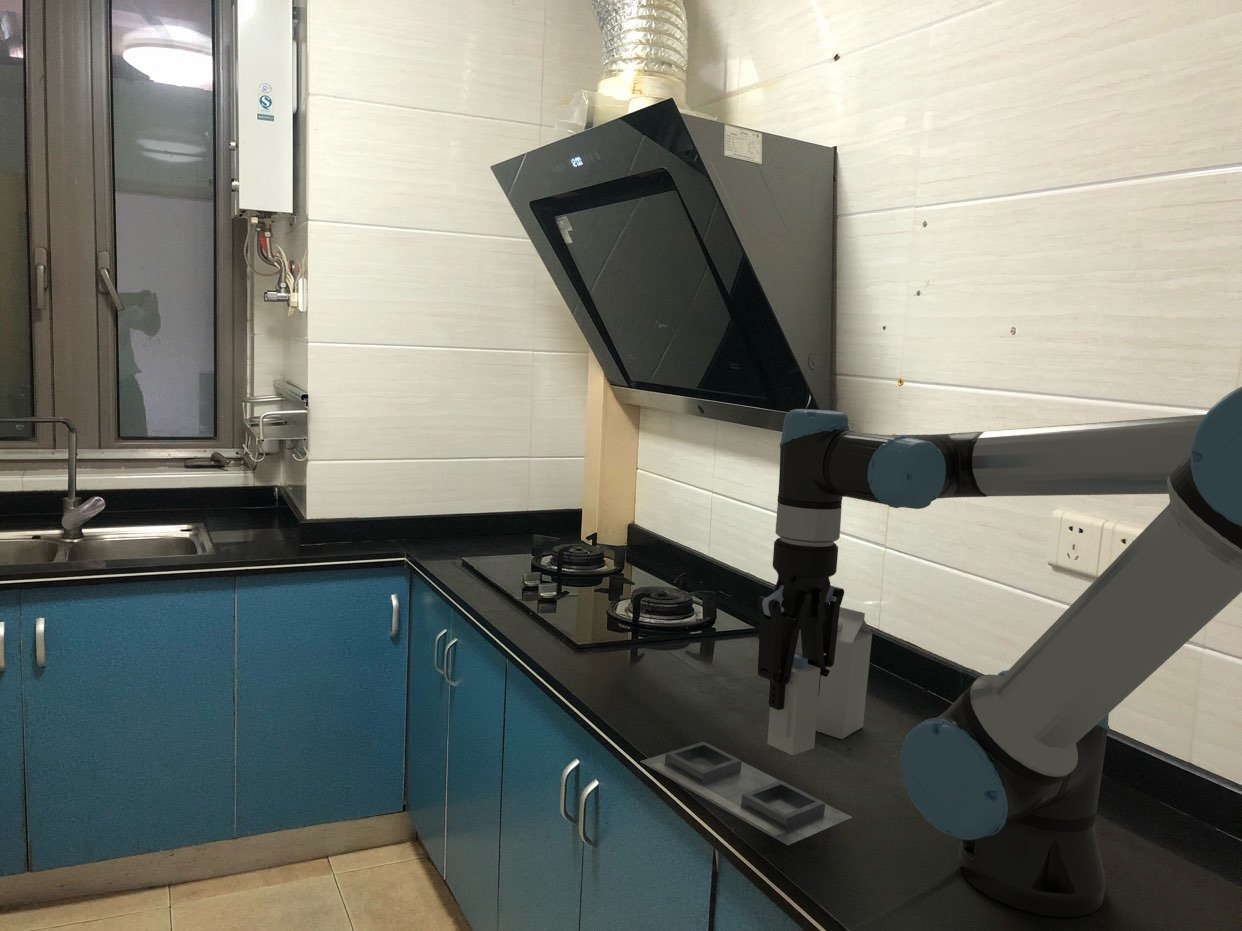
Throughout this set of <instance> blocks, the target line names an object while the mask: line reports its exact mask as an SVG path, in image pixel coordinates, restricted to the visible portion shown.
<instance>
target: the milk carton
mask: <svg viewBox="0 0 1242 931" xmlns="http://www.w3.org/2000/svg"><path fill="white" fill-rule="evenodd" d="M865 614H866V613H865V612H862V611H860V610H859V611H858V610H855V609H850V608H846V607H842V606H840V611H839V620H838V630H837V640H836V649H835V659H834V664H833V666H832V667H828V666H827V667H826V668H825V669H828V670H830V672H829V675H828V676H827V677H825V676H822V675H821V679H820V689H819V690H820V692H819V697H818V706H817V719H816V732H818V733H822V734H824V735H827V736H830V737H833V738H837V739H839V740H844V739H845V738H847V737H849V736H850V735H852V734H853V733H854V732H857V731H858V730H860V729H862V728H863V726H864V720H865V719H864V718H865V711H866V710H865V709H866V700H867V691H868V690H867V689H868V680H869V671H870V662H871V661H870V659H871V648H872V639H873V633H872V631H871V629H870V628H869V626H868V624H867V622H866V621H865ZM824 655H825V656H826V653H824Z"/></svg>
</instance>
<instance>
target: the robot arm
mask: <svg viewBox="0 0 1242 931" xmlns="http://www.w3.org/2000/svg"><path fill="white" fill-rule="evenodd" d="M780 439H781V440H780V443H779V448H780V449H779V450H780V451H779V452H780V453H779V476H778V478H779V479H778V493H777V507H776V522H775V534H776V535H777V537H778V538H776V539H775V540H774V542H773V553H772V555H773V556H772V569H773V570H775V572H776V573H777V581H776V584H775V585H774V590H773V593H771V594H770V595H768V596H767V597H766V596H763V595H760V596H759V597H758V598H757V601H756V602H757V608H758V612H759V616H760V617H759V634H758V635H759V637H758V655H757V656H758V657H757V658H758V660H757V675H758V676H759V677H761V678H763V679H766V680H769V693H768V706H769V714H770V719H768V728H769V731H772V732H774V733H776V734H779V735H781V736H783V737H785V738H787V737H790V729H791V715H792V702H793V689H794V684H793V683H791V682H789V680H790V675H791V670H792V665H793V660H794V655H795V651H796V646H797V641H798V636H799V631H800V629H801V643H802V657H804V658H807V659H808V664H810V665H813V666H816V667H818V668H820V679H821V675H822V676H825V677H827V676H828V675H829V672H830V670H828V669H825V668H826V667H827V666H828V667H832V666H833V664H834V659H835V649H836V640H837V630H838V620H839V611H840V607H841V605H842V602H843V599H844V596H845V589H844V588H841V587H838V586H834V585H831V581H830V577H833V576H834V575H835V574H836V573H837V570H838V555H839V546H838V545H837V544H836V541H838V540H839V539H840V537H841V536H840V535H841V524H842V523H841V522H842V510H843V509H842V508H843V507H842V506H843V505H842V504H843V498H844V497H845V498H852V499H855V500H859V501H860V500H861V501H864V502H865V501H867V502H871V503H875V504H880V505H885V506H886V505H887V506H888V507H890V508H894V509H898V508H899V509H900V508H906V509H911V510H912V509H914V510H921V509H926V508H927V507H929V506H930V505H931V503H932V502H933V501H936V500H937V499H948V498H949V499H950V498H988V497H1028V496H1029V497H1031V496H1032V497H1034V496H1035V497H1040V496H1043V497H1044V496H1047V497H1048V496H1050V497H1051V496H1107V495H1108V496H1110V495H1111V496H1113V495H1114V496H1116V495H1124V496H1126V495H1168V497H1169V498H1168V499H1169V503H1168V504H1167V506H1165V507H1164V509H1163V510H1162V511H1161V512H1160V513H1159V514H1158V515H1157V516H1156V517H1155V518H1154V519H1153V520H1152V521H1151V522H1150V523H1149V524H1148V525H1147V526H1146V527H1145V529H1144V530H1143V531H1142V532H1141V533H1140V534H1138V536H1136V538H1135V539H1133V541H1132V542H1131V543H1129V545H1127V547H1126V548H1125V549H1124V550H1123V551H1122V552H1121V553H1120V554H1119V555H1118V556H1117V558H1116V559H1115V560H1113V561H1112V562H1111V563H1110V565H1109V566H1108V567H1107V568H1106V569H1105V570H1103V572H1102V573H1101V574H1100V575H1099V576H1098V577H1096V579H1095V580H1094V581H1093V582H1092V583H1091V584H1090V585H1089V586H1088V588H1086V589H1085V590H1084V592H1083V593H1082V594H1080V596H1078V597H1077V598H1076V600H1075V601H1074V602H1073V603H1072V604H1071V605H1070V606H1068V608H1067V609H1066V610H1065V611H1064V612H1063V613H1061V615H1060V616H1059V617H1058V619H1057V620H1055V621H1054V623H1052V625H1050V626H1049V627H1048V629H1046V631H1044V633H1043V634H1042V635H1041V636H1040V637H1039V638H1038V639H1037V640H1036V641H1035V642H1034V643H1033V644H1032V645H1031V646H1030V647H1029V648H1028V649H1027V650H1026V651H1025V652H1024V653H1023V655H1021V656H1020V657H1019V659H1017V661H1016V662H1015V663H1014V664H1012V666H1011V667H1010V668H1009V669H1007V670H1002V671H1000V672H998V673H997V674H984V675H981V676H979V677H978V678H977V679H975V680H974V681H973V683H971V684H970V686H969V687H968V688H966V690H965V691H964V692H963V693H962V694H961V695H960V696H959V697H958V698H957V699H956V700H955V701H954V702H953V703H952V704H951V705H950V706H949V708H948V709H946V710H945V711H944V712H943V713H942V714H940V715H939V716H937V717H933V718H927V719H924V721H921V722H919V723H918V724H917V725H916V726H915V727H913V728H912V729H911V730H910V731H909V732H908V733H907V735H906V737H905V738H904V739H903V742H902V744H901V748H900V755H899V765H900V768H901V771H902V776H901V778H902V781H903V785H904V788H905V791H906V793H907V794H908V797H909V799H910V800H911V802H912V805H914V807H915V808H916V810H917V811H918V812H919V813H920V815H921V816H922V817H923V819H925V820H926V821H927V822H928V823H929V824H930V825H931V826H933V827H934V828H935V829H937V831H940V832H941V833H943V834H945V835H947V836H952V837H954V838H956V839H959V840H960V843H959V850H958V860H959V864H960V865H961V866H959V867H958V869H959V871H960V873H961V875H962V876H963V877H964V878H965V880H967V881H968V883H970V884H971V885H972V886H973V887H974V888H975V889H977V890H978V891H980V892H981V893H983V894H984V893H985V894H984V895H986V896H988V897H989V898H991V899H994V900H995V901H997V902H999V901H1000V902H999V903H1001V902H1003V903H1004V905H1006V904H1007V905H1006V906H1008V905H1009V907H1011V906H1012V907H1011V908H1014V909H1017V910H1020V909H1021V910H1020V911H1023V912H1027V913H1031V914H1035V915H1041V916H1046V917H1053V918H1054V917H1055V918H1076V917H1083V916H1086V915H1090V914H1092V913H1094V912H1096V911H1098V910H1099V909H1100V908H1101V907H1102V905H1103V902H1104V900H1105V890H1106V873H1105V869H1104V866H1103V860H1102V856H1101V853H1100V846H1099V843H1098V838H1097V834H1096V830H1095V829H1096V817H1097V811H1098V810H1097V809H1098V806H1099V805H1098V804H1099V797H1100V796H1099V795H1100V791H1101V790H1100V789H1101V782H1102V776H1103V775H1102V774H1103V769H1104V762H1105V761H1104V760H1105V753H1106V745H1107V739H1108V733H1109V732H1110V729H1111V727H1110V725H1109V717H1110V716H1109V715H1110V713H1111V712H1112V711H1113V710H1114V709H1115V708H1116V707H1118V706H1119V705H1120V704H1121V703H1122V702H1123V701H1124V700H1125V699H1126V698H1128V696H1130V695H1131V694H1132V693H1134V691H1135V690H1136V689H1137V688H1138V687H1139V686H1140V685H1142V684H1143V683H1144V682H1145V681H1146V680H1147V679H1148V678H1149V677H1150V676H1151V675H1153V674H1154V673H1155V672H1156V671H1157V670H1158V669H1159V668H1160V667H1161V666H1162V665H1164V663H1166V662H1167V661H1168V660H1169V659H1170V658H1171V657H1172V656H1173V655H1175V654H1176V653H1177V652H1178V651H1179V650H1180V649H1182V647H1183V646H1184V645H1186V644H1187V642H1189V640H1191V639H1192V638H1193V637H1194V636H1196V634H1197V633H1198V632H1200V631H1201V630H1202V629H1203V628H1204V627H1205V626H1206V625H1207V624H1208V623H1210V622H1211V621H1213V619H1214V618H1215V617H1216V616H1218V614H1219V613H1220V612H1221V611H1223V610H1224V609H1225V608H1226V607H1227V606H1228V605H1229V604H1230V603H1231V602H1233V601H1234V600H1235V599H1236V598H1237V597H1238V596H1239V595H1240V594H1241V593H1242V386H1240V387H1238V388H1236V389H1234V390H1233V391H1230V392H1229V393H1227V394H1226V395H1224V396H1223V397H1222V398H1221V399H1219V400H1218V401H1217V402H1216V403H1215V404H1213V406H1212V407H1211V408H1210V409H1209V410H1207V412H1206V414H1193V415H1192V414H1191V415H1183V416H1182V415H1181V416H1180V415H1179V416H1167V417H1156V418H1155V417H1153V418H1141V419H1129V420H1128V419H1127V420H1115V421H1114V420H1113V421H1102V422H1099V421H1098V422H1088V423H1075V424H1062V425H1049V426H1048V425H1047V426H1036V427H1035V426H1034V427H1020V428H1011V429H1010V428H1009V429H997V430H996V429H995V430H987V431H970V432H969V431H968V432H956V433H955V432H953V433H937V434H879V433H867V432H856V431H855V430H854V431H853V430H850V427H849V417H848V415H847V414H846V413H845V412H842V411H837V410H836V411H835V410H827V409H825V410H824V409H811V408H810V409H809V408H807V409H805V408H795V409H792V410H789V411H788V412H786V414H785V416H784V419H783V426H782V433H781V438H780ZM794 618H795V619H794ZM824 653H826V656H825V655H824ZM780 670H781V672H780ZM819 689H820V681H819ZM819 692H820V690H819ZM818 697H819V694H818ZM1003 903H1002V904H1003Z"/></svg>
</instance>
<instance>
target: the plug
mask: <svg viewBox="0 0 1242 931" xmlns="http://www.w3.org/2000/svg"><path fill="white" fill-rule="evenodd" d="M780 672H781V670H780ZM819 681H820V668H818V667H816V666H813V665H810V664H808V659H807V658H804V657H801V656H799V655H796V654H795V655H794V660H793V665H792V670H791V675H790V680H789V682H791V683H793V684H794V689H793V702H792V715H791V729H790V737H787V738H785V737H783V736H781V735H779V734H776V733H774V732H772V731H769V727H768V730H767V745H769V746H771V747H774V748H776V749H777V750H780V751H782V752H785V753H787V754H789V755H791V756H795V755H797V754H800V753H803V752H806V751H810V750H812V749H815V744H816V743H815V742H816V732H817V731H816V719H817V706H818V694H819ZM768 718H769V719H770V713H769V716H768ZM769 719H768V720H769Z"/></svg>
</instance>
